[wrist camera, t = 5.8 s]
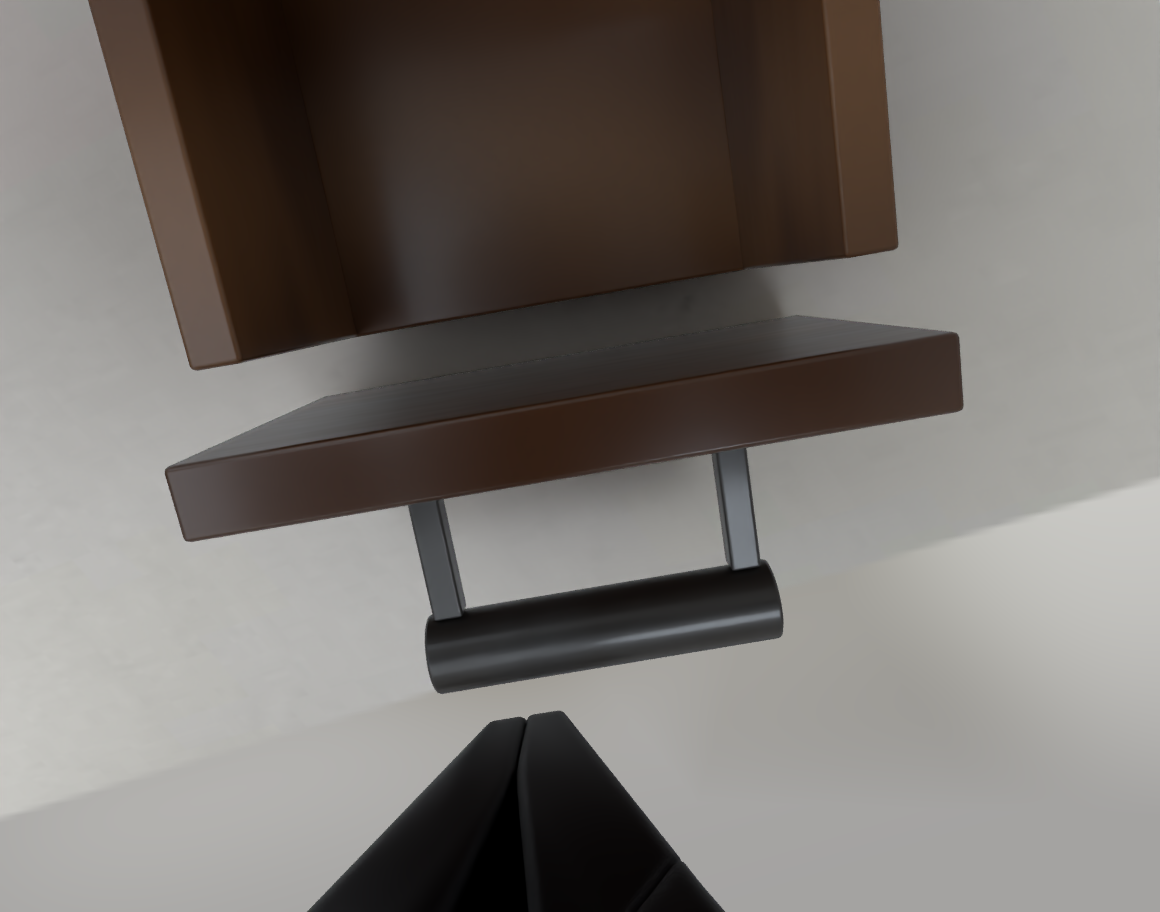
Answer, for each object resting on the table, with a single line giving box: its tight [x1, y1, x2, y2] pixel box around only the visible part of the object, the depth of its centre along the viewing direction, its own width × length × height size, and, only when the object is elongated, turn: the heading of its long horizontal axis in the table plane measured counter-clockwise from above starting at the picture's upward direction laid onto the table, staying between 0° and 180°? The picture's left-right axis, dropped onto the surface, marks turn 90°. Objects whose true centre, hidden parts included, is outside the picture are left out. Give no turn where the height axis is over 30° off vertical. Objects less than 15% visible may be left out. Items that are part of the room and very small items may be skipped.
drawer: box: [88, 0, 963, 694], centre depth 14 cm, size 18×12×8 cm, turn 10°
